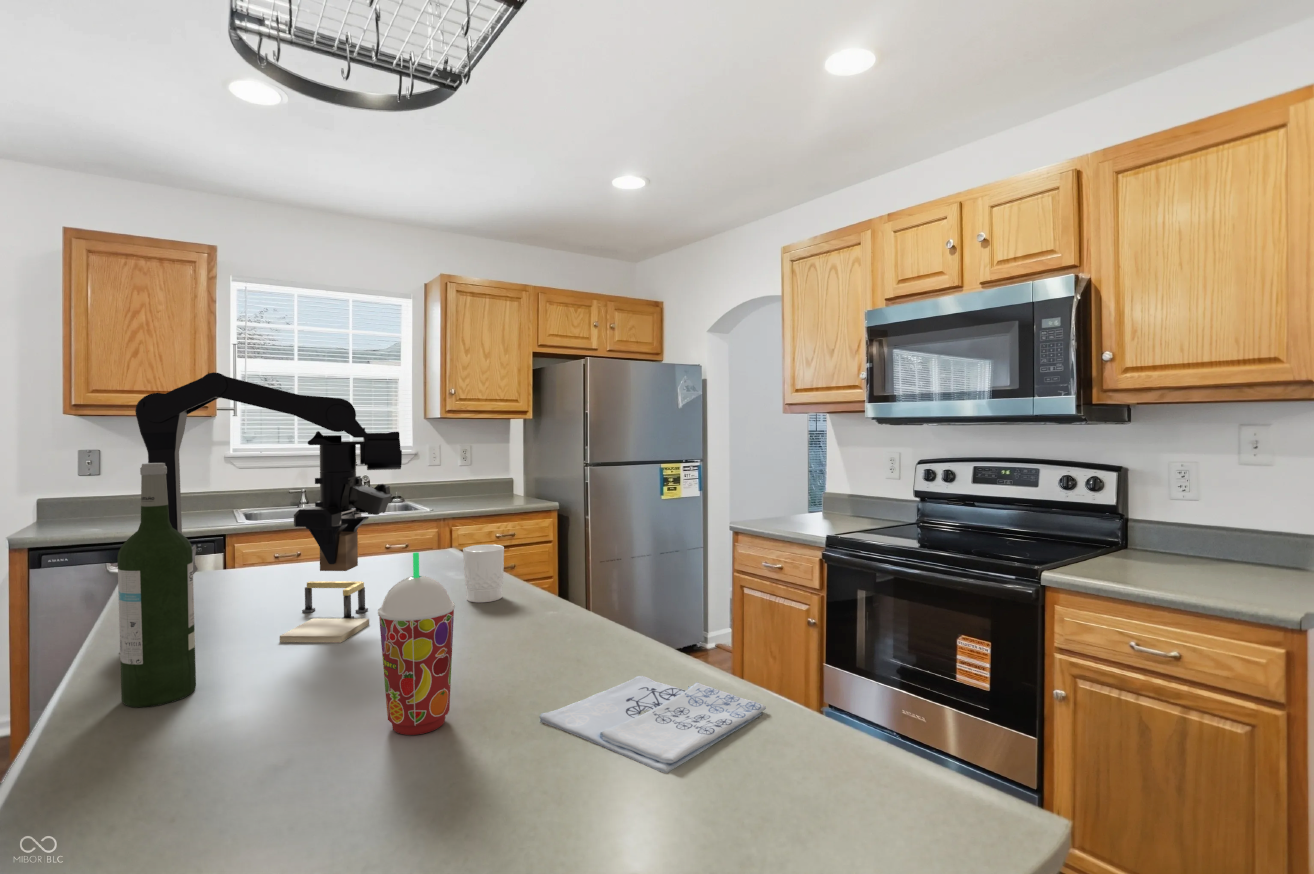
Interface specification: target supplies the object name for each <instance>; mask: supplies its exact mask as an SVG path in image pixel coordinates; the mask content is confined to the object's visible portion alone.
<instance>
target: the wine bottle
mask: <svg viewBox="0 0 1314 874" xmlns="http://www.w3.org/2000/svg"><path fill="white" fill-rule="evenodd" d="M139 472H140V473H139V474H140V476H141V485H140V487H141V488H140V523H139V527H138V528H137V529H138V530H137V531H135V532H134V533H133V534H132V535H131V536H130V537H129V538H128V539H126V540H125V542H123V544H122V545H121V546H120V548H119V550H118V552H117V559H116V560H117V581H118V582H117V583H118V585H117V586H118V587H117V588H118V591H117V592H118V617H119V618H118V621H119V623H118V624H119V627H118V628H119V651H120V652H119V656H120V657H119V659H120V689H121V691H120V693H121V694H120V695H121V702H122V703H123V704H124V705H125V706H127V707H132V708H147V707H155V706H162V705H165V704H169V703H174V702H177V701H179V700H183V699H184V698H186V697H188V696H190V695H191V694H192V693H193V692H194V691H195V690H196V686H197V675H196V673H197V672H196V671H197V669H196V635H195V634H196V632H195V595H194V588H195V587H194V574H193V549H192V547H193V546H192V545H193V544H192V543H191V542H190V540H189V539H188V538H187V537H186V536H185V535H184V534H183V533H182V534H181V533H180V532H178V531H177V530H175V529H174V528H172V526H171V523H170V521H169V510H168V496H167V482H166V473H167V467H166V466H165V463H148V462H147V463H142V464H141V467H139Z"/></svg>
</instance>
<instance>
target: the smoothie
mask: <svg viewBox="0 0 1314 874" xmlns="http://www.w3.org/2000/svg"><path fill="white" fill-rule="evenodd" d="M412 557H413V558H412V574H413V575H411V576H408V577H406V578H403V579H401V580H400V581H398V582H397V583H395V584H394V585H393V586H392V587H391V588H390V589H389V590H388V592H387V594H386V595H385V597H384V599H383V601H382V603H381V607H379V608H378V610H377V616H379V633H380V642H381V653H382V654H381V657H382V666H383V679H384V681H383V682H384V689H385V701H386V702H385V704H386V715H387V721H388V722H389V723H391V725H392V730H393V731H394V732H395V733H398V734H400V735H406V736H417V735H418V736H419V735H423V734H427V733H431V732H433V731H435V730H437V729H439V728H440V727H442V726H443V725H444V723H445V721H446V716H447V715H448V714H449V712H450V706H451V705H450V704H451V685H452V684H451V683H452V682H451V681H452V661H453V660H452V659H453V657H452V656H453V637H454V618H455V617H454V616H455V611H454V610H455V607H456V604H455V603H454V601H452V599H451V598H450V595H449V593H448V591H447V589H446V588H445V586H443V584H441V582H439V581H437V580H436V579H434V578H432V577H429V576H427V575H425V576H424V575H420V552H416V551H415V552H412Z"/></svg>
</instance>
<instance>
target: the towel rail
mask: <svg viewBox="0 0 1314 874" xmlns="http://www.w3.org/2000/svg"><path fill="white" fill-rule="evenodd" d="M313 589H342V596H343V617H342V618H341V617H340V619H355V616H354V615H352V595H353V594H354V593H357V606H358V607H357V609H355V614H366V613H367V612H368V611H369V608H368V607H366V587H365V582H363V581H356V580H355V581H348V580H347V581H341V580H340V581H333V580H332V581H323V580H322V581H318V580H317V581H308V582H306V586H305V587H304V609H302V610H301V611H302V614H305V613H306V614H308V613H309V614H310V613H313V612H315V611H316V607H313Z"/></svg>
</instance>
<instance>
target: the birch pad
mask: <svg viewBox="0 0 1314 874" xmlns="http://www.w3.org/2000/svg"><path fill="white" fill-rule="evenodd" d="M369 625H370V618H354V619H341V618H323V617H322V618H320V617H319V618H311V619H309V620H307V621H305V622H303V623H301V624H299V625H298V626H295V627H294V628H292V629H291V630H288V631H286V632H284V633H282V634H281V635H279V643H328V644H329V643H340V644H341V643H343V642H345V641H346V640H347V639H349V638H351V637H352V636H354V635H355V634H357V633H359V632H360V631H362V630H363V629H364V628H366V627H367V626H369Z"/></svg>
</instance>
